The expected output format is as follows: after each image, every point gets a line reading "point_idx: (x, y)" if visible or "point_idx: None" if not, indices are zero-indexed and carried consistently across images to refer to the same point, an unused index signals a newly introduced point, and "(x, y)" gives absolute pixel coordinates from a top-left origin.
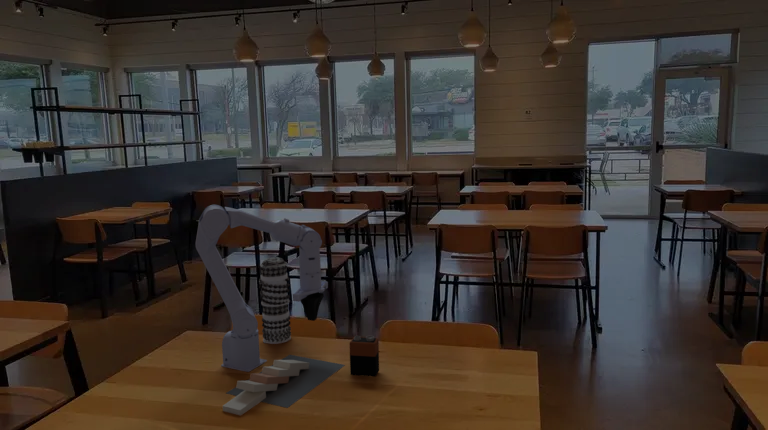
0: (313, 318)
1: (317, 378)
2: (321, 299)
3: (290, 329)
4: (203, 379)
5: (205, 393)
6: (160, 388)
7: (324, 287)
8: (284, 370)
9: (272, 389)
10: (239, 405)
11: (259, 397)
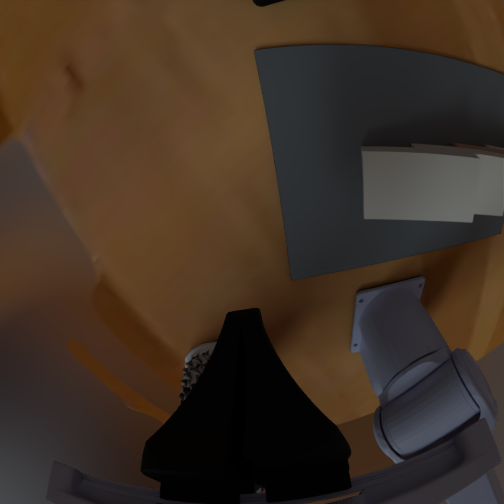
0: (261, 319)
1: (400, 75)
2: (175, 426)
3: (194, 369)
4: (454, 311)
5: (494, 264)
6: (478, 324)
7: (78, 479)
8: (490, 155)
9: (499, 147)
10: None
11: None
